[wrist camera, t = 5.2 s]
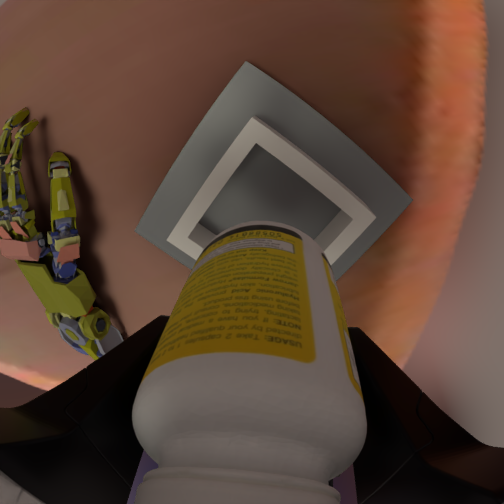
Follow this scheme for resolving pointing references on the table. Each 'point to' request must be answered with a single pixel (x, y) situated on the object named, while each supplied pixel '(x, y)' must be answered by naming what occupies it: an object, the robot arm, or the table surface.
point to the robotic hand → (62, 245)
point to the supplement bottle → (252, 378)
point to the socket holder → (271, 177)
